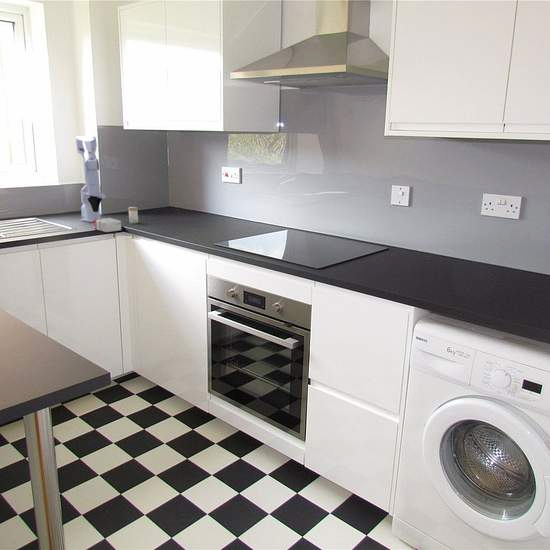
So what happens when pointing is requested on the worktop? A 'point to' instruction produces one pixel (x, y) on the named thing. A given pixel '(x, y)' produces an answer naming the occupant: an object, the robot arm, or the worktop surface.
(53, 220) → the worktop surface
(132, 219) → the spice jar
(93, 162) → the robot arm
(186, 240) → the worktop surface
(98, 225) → the ink box
